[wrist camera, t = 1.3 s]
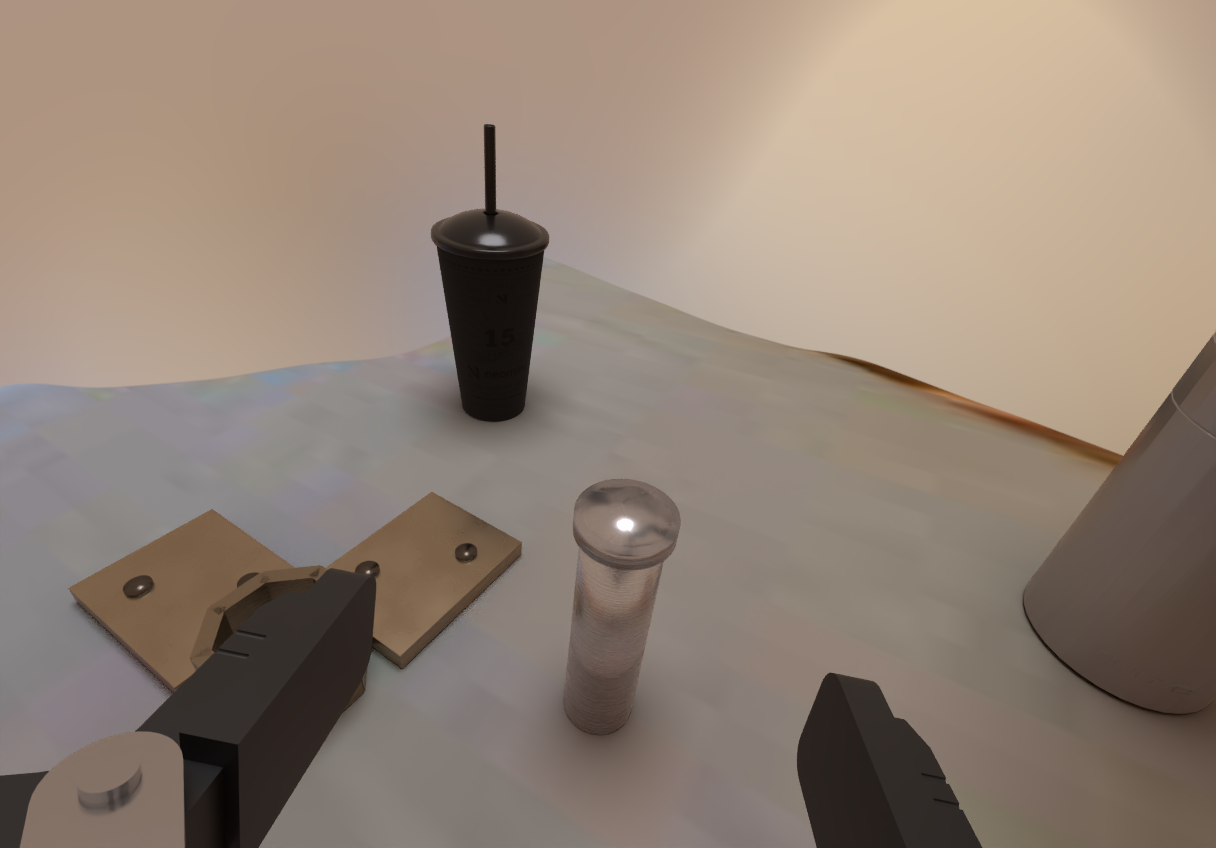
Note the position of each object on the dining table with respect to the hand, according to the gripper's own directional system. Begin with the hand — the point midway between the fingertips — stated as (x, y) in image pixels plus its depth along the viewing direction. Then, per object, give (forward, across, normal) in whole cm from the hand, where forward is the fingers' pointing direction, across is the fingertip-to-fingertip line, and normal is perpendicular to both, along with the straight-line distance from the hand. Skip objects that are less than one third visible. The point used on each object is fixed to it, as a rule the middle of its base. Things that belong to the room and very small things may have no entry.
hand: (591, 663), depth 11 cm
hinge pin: (+14, -2, +14) cm, 20 cm away
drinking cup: (+36, +10, +9) cm, 39 cm away
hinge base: (+18, +14, +14) cm, 27 cm away
